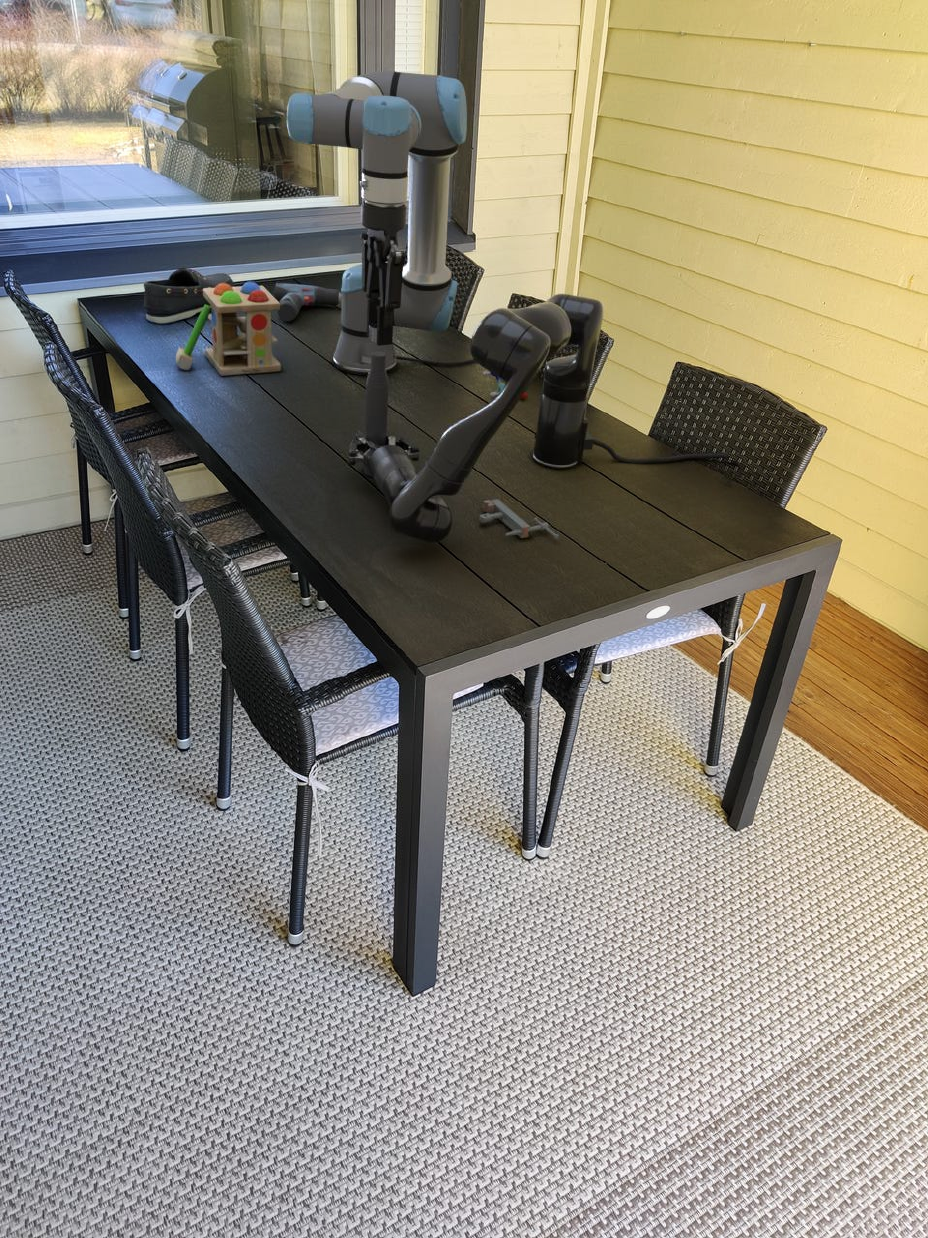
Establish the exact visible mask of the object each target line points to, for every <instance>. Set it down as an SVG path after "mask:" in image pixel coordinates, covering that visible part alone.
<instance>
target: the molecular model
mask: <svg viewBox="0 0 928 1238" xmlns="http://www.w3.org/2000/svg"><path fill="white" fill-rule="evenodd" d="M481 375H482V377H487V376H490V375H491V376H492V377H494V378H495V379H496V381H497V384H498V385H497V390H496V391H491V392H490V393H489V396H490V398H493V399H494V398H496V396H497V395H498V394H499V393H500V392H501V391H502V389H503V388H504V386H505V384H506V383H503V382H501V378H499V377H498V376H496V375H495V374H493V373H491V372H490V371H487V370H483V371H482V373H481ZM527 397H528V394H527V393H526V392H525V393H524V394H523V395H522V397H521V398H520V399H522V400H526V399H527Z"/></svg>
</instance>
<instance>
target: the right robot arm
mask: <svg viewBox="0 0 928 1238" xmlns="http://www.w3.org/2000/svg"><path fill="white" fill-rule="evenodd" d="M603 320H604V306H603V303H602V302H601V300H599V299H595V298H591V297H590V298H589V297H585V296H579V295H574V294H569V293H557V294H554V295H552V296H550V297H549V298H547V300H546V301H543V302H539V303H534V304H532V305H529V306H526V307H521V308H508V307H507V308H506V307H500V308H497V309H494V310H492V311H491V312H489V313H488V314H487V315H486V316H485V317H484V318H482V320H481V321H480V322H479V324H478V325H477V326H476V328H475V329H474V331H473V334H472V336H471V339H470V345H469V350H470V355H471V357H472V359H474V360H475V362H476V363H477V364H479V366H480V367H482V368H484V369H485V370H486V371H487V372H491V373H493V374H495V375H496V376H498V377H499V379H500V380H502V381H504V382H505V383H504V384H505V386H504V388H503V389H502V391H501V392H500V391H499V392H500V393H499V394H498V395H497V396H496V397H493V399H492V400H491V401H490V402H488V403H487V404H485V405H484V406H482V407H481V408H480V409H477V410H476V411H474V412H472V413H470V414H469V415H467V416H465V417H463V418H461V419H459V420H458V421H455V422H454V423H453V424H451V425H450V426H449V427H448V428H447V429H445V430H444V431H443V433H442V434H441V435H440V437H439V438H438V440H437V442H436V443H435V444H434V447H433V448H432V451H431V452H430V454H429V456H428V458H427V460H426V462H425V464H424V466H423V467H422V468H421V469H420V471H419V472H418V469H417V467H416V466H415V464H414V463H413V462H419V460H420V447H419V446H417V445H416V444H414V443H413V442H412V441H410V440H408V439H407V438H405V437H403V436H401V437H400V436H399V438H396V437H395V436H393V434H392V432H390V431H388V430H387V436H386V445H383V446H379V445H376V444H375V443H374V442H373V441H368V440H367V439H366V436H365V432H364V431H363V430H358V431H357V433H356V434H355V439H352V440H351V442H350V445H349V450H348V465H349V466H355V465H356V463H363V466H364V465H366V466H367V467H368V468H369V470H370V473H371V475H372V479H373V480H374V483H375V485H376V486H377V487H378V490H379V491H380V493H382V495H383V496H384V497H385V499H386V500H387V503H388V504H389V506H390V507H389V510H388V523H389V525H390V528H391V529H392V530H393V531H394V532H396V533H398V534H401V535H404V536H407V537H410V538H414V539H417V540H420V541H424V542H427V543H439V542H442V541H443V540H444V539H446V538H447V537H448V535H449V534H450V532H451V531H452V526H453V515H452V511H451V509H450V507H449V505H448V504H447V502H446V501H445V500H444V499H443V498H442V497H440V496H443V497H444V496H446V497H451V496H455V495H457V494H458V493H459V492H460V491H461V489H462V488H463V486H464V485H465V482H466V481H467V479H468V477H469V475H470V474H471V472H472V470H473V468H474V466H475V465H476V463H477V462H478V459H480V456H481V455H482V453H483V452H484V449H485V448H486V447H487V445H488V444H489V443H490V441H491V440H492V439H493V437H494V435H495V434H496V433H497V431H498V430H499V429H500V428H501V426H502V425H503V423H504V422H505V421H506V420H507V418H508V417H509V415H510V414H511V412H512V411H513V410H514V409H515V407H516V406H517V404H518V403H519V401H520V400H521V399H522V398H521V397H522V395H523V394H524V393H526V392H527V390H528V388H530V386H531V384H532V383H533V381H534V380H535V379H536V377H537V375H538V373H539V372H540V371H541V369H542V367H543V365H544V364H545V361H546V360H548V359H550V358H552V359H550V360H549V361H547V363H546V364H545V366H544V372H543V379H542V386H541V387H542V388H541V395H540V403H539V410H538V417H537V418H538V419H537V423H536V424H537V426H536V432H535V434H534V438H533V440H534V446H533V452H532V459H533V461H535V462H536V463H537V464H538V465H540V466H542V467H546V468H550V469H555V470H556V469H557V470H565V469H571V468H574V467H577V465H582V462H583V456H584V451H588V450H589V451H590V450H593V446H594V445H595V446H598V447H600V448H602V449H604V450H606V451H607V452H608V454H610V456H611V457H612V458H613V459H614V460H615V461H618V462H619V463H624V464H636V465H637V464H641V465H643V464H644V465H645V464H654V463H671V462H676V461H682V460H692V459H695V460H697V459H699V460H700V459H701V460H702V459H703V460H706V459H724V460H728V461H730V462H732V463H733V464H734V466H738V467H741V466H742V465H741V463H740V461H739V460H738V461H739V462H738V461H733V460H729V459H727V455H728V454H727V453H719V452H718V453H717V452H716V453H687V454H680V455H674V456H668V457H667V456H665V457H650V458H638V459H637V458H626V457H623V456H621V455H618V454H617V453H616V452H615V451H614V450H613V448H612V447H611V446H609V445H608V444H606V443H605V442H603V441H600V440H598V439H595V438H593V437H592V435H590V434H589V433H588V431H587V430H588V424H589V420H588V418H586V413H587V405H588V400H589V393H590V388H591V387H590V386H591V382H592V376H593V375H592V374H593V370H594V365H595V364H594V363H595V358H596V353H597V347H598V343H599V340H600V339H599V338H600V335H601V330H602V326H603V325H602V324H603ZM566 347H571V348H576V349H577V352H576V353H574V354H571V355H568V356H561V357H555V358H553V357H554V356H557V355H558V354H559V353H561V352H562V351H563V350H564V349H565V348H566ZM726 454H727V455H726Z"/></svg>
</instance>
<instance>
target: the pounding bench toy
mask: <svg viewBox="0 0 928 1238" xmlns="http://www.w3.org/2000/svg"><path fill="white" fill-rule="evenodd" d="M203 296H204V297H205V299H206V300H207V301H208V302H209V304H210V305H211V307H210V306H208V305H204V307H203V309H202V311H200V313H199V316H198V318H197V320H196V322H195V324H194V327H193V329H192V331H191V332H190V333H191V334H190V336H189V338H188V340H187V343H186V344H185V347H184V348H182V347H180V346H179V347H178V349H177V351H176V354H175V357H174V358H175V362H176V365H177V366H178V368H179V369H182V370H185V371H189V370H190V369H191V367H192V365H193V363H194V356H193V351H194V348H195V347H196V345H197V342H198V340H199V337H200V336H201V333H202V332H203V329H204V326H205V325H206V322H207V320H209V321H210V322H211V336H212V337H211V338H212V339H211V340H212V348H205V349H204V352H205V353H204V355H205V357H206V359H208V361H209V363H210V364H211V365H212V366H213V367H214V369H215V370H216V371H217V372H218V374H219V375H220V376H222V377H223V376H234V375H235V376H236V375H246V374H247V375H250V374H262V373H275V372H281V370H282V364H281V363H280V362H279V360H278V359H277V358H276V357H275V356H274V355H273V348H272V347H273V345H272V344H276V343H278V342H279V341H278V339H277V338H276V337H275V336H274V334H272V311H278V310H280V302H278V301H277V300H276V299H275V296H273V295H272V294H271V293H270V292H269V290H268V289H267V288H266V287H264V285H259V284H257V283H256V282H255V281H247V282H245V283H244V284H243V285H242V286H234V287H231V286H230V285H228V284H226V283H221V284H218V285H217V286H216V287H215V288H204V289H203ZM238 313H244V314H245V315H244V316H238ZM238 329H239V331H240V333H239V334H238Z"/></svg>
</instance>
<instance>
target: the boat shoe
mask: <svg viewBox="0 0 928 1238" xmlns="http://www.w3.org/2000/svg"><path fill="white" fill-rule="evenodd" d="M221 283H226V284H228V285H230V286H231V287H235V283H234V280H233V279H232V278H231V276H230V275H229V274H227V273H224V272H223V273H222V272H221V273H214V274H208V275H205V276H204V275H203V274H201V273H200V272H199V271H197V270H195V269H191V268H187V267H180V268H177V269H176V270H174V271H173V272H172V273H171V274H170V275H169V277H167V278H166V279H161V280H147V281H144V282H143V288H144V289H143V290H144V304H143V308H144V309H145V310H146V311H145V316H146V317H145V318H146V320H147V321H149V322H151V323H155V324H169V323H174V322H178V321H180V320H184V319H188V318H191V317H194V315H196V314H197V313H201V311H202V309H203V307H204V305H208V306H210V307H211V305H210V304H209V302H208V301H207V300H206V299H205V297H204V296H203V289H204V288H215V287H216V286H217V285H218V284H221Z"/></svg>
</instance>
